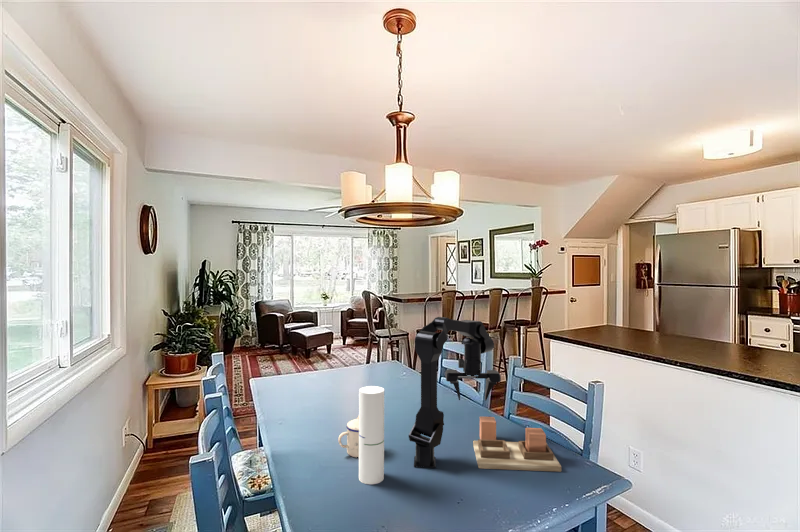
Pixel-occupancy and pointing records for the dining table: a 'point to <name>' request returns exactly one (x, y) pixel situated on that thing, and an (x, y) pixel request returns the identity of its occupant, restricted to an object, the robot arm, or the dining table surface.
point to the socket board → (517, 453)
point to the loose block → (487, 428)
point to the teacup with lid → (351, 438)
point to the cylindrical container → (371, 434)
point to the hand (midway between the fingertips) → (472, 400)
